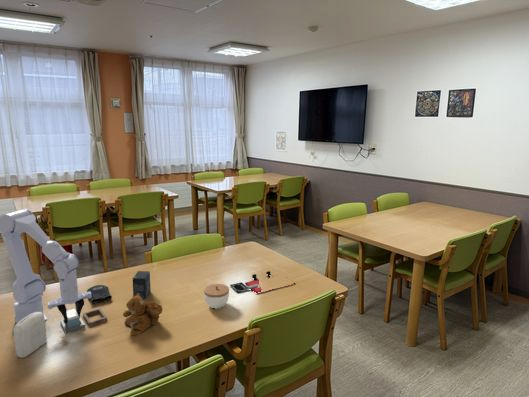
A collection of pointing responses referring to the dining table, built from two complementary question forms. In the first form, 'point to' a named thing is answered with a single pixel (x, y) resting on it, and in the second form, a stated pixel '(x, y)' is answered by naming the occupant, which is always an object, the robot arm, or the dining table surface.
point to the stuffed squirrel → (141, 314)
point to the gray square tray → (72, 327)
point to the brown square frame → (91, 323)
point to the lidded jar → (216, 295)
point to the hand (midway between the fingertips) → (72, 319)
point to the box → (141, 284)
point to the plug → (72, 318)
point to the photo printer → (29, 334)
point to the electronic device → (99, 293)
